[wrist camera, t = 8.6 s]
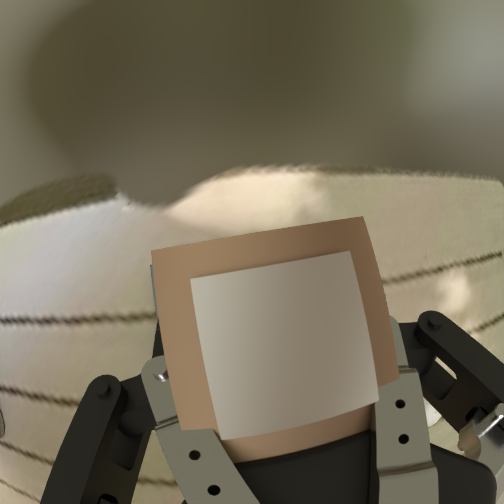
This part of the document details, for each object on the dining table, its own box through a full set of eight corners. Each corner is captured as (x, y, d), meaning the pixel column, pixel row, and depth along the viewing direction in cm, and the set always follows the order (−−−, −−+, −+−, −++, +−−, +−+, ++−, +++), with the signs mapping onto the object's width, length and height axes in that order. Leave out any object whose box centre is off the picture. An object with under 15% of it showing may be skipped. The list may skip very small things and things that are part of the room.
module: (222, 385, 14) (187, 478, 4) (206, 300, 15) (142, 242, 5) (309, 368, 15) (416, 419, 4) (292, 285, 16) (373, 205, 6)
